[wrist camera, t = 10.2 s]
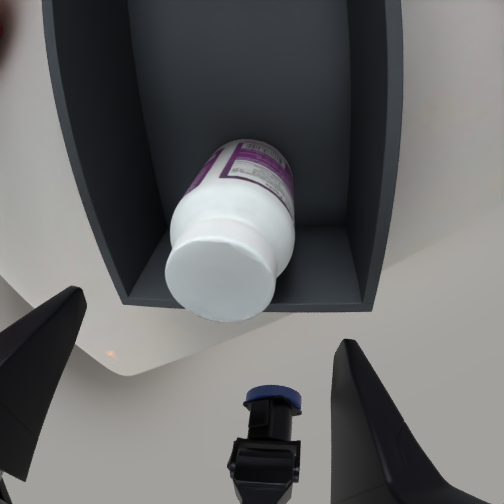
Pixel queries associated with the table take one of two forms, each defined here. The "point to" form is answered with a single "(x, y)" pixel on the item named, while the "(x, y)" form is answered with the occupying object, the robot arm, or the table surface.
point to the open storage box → (233, 127)
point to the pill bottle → (233, 233)
